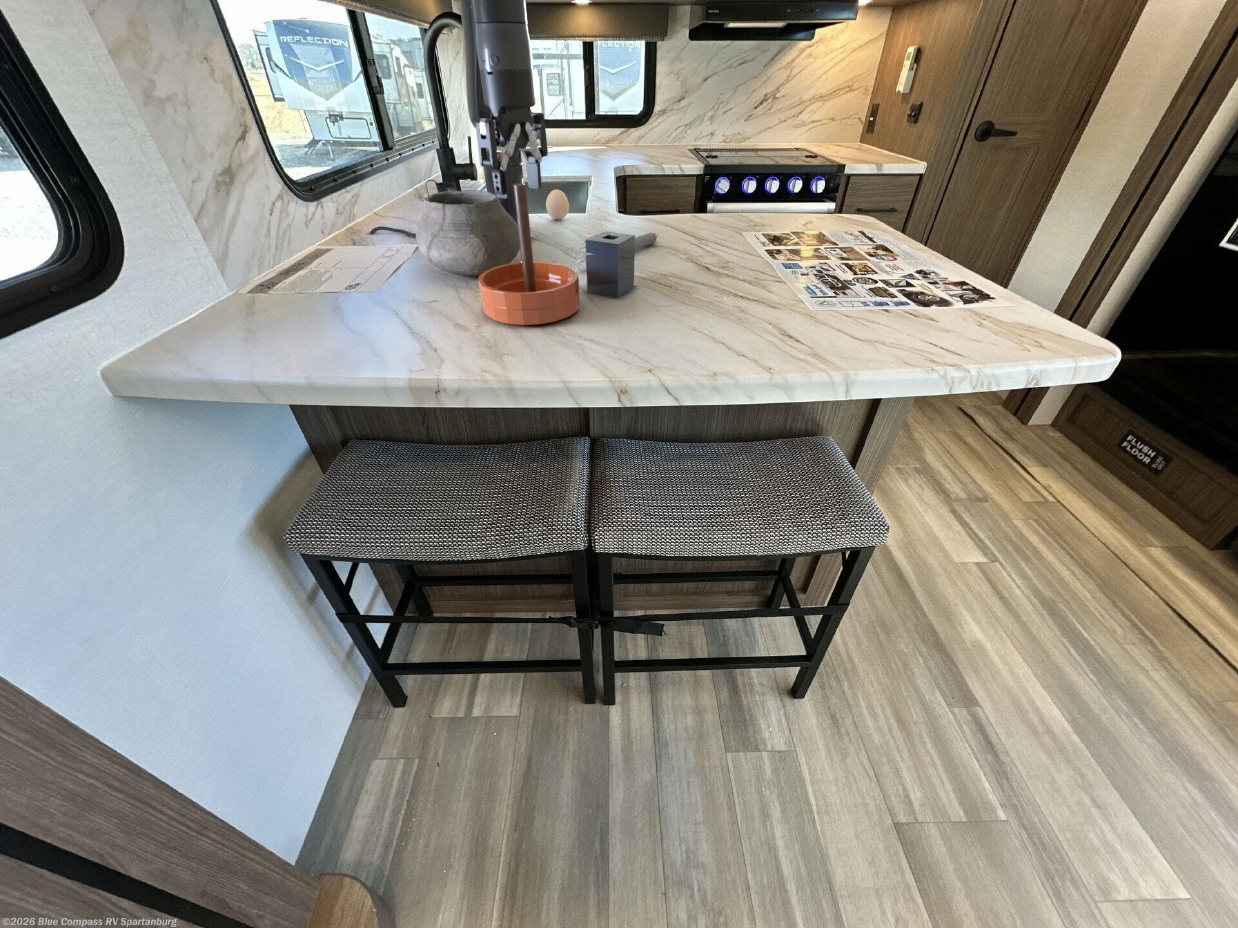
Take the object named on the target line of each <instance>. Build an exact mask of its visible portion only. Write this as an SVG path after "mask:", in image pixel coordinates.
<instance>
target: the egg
mask: <svg viewBox="0 0 1238 928" xmlns="http://www.w3.org/2000/svg"><path fill="white" fill-rule="evenodd" d="M545 207H546V212H547V214H548V216H550V217H551V218H552V219H553V220H556V221H561V220H563V219H564V218H565V217H566V216H567V215H568V213H569V211H570V203H569V200H568V197H567V195H566V194H565V192H564V191H562V190H560V189H553V190H551V191H550V192H549V194H548V195H547V197H546V200H545Z"/></svg>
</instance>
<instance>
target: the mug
mask: <svg viewBox="0 0 1238 928" xmlns="http://www.w3.org/2000/svg"><path fill="white" fill-rule="evenodd" d="M428 182H434V184H435V188H436V190H437V193H439V192H444V191H458V188H457V186H456V183H455V182H453V181H441V182H437V181H436V180H435V179H427V180H426V181H425V189H426V192H427V197H428V196H430V193H429V190H428V189H429V188H428V186H427V183H428Z"/></svg>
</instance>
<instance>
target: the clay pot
mask: <svg viewBox="0 0 1238 928" xmlns="http://www.w3.org/2000/svg"><path fill="white" fill-rule="evenodd" d="M417 223H418V224H417V227H416V231H415V234H416V237H415V243H416V245H417V249H418V251H419V252H420V254H421V255H422V256H423V258H424V259H426V260H427V261H428V262H429V263H430V264H432V265H433V266H434V267H436V268H438V269H440V270H442V271H444V272H446V273H450V274H453V275H458V276H468V277H471V276H472V277H473V276H474V277H476V276H478V277H479V276H480V275H481V274H483V273H484V272H485V271H487V270H489V269H492V268H494V267H497V266H501V265H505V264H510V263H513V261H514V260H515V259H516V258H517V256H518V254H519V252H520V251H521V249H520V240H519V232H518V225H517V223H516V222H515V221H514V219H513V218H512V217H511V216H510V215H509V214H508V213H507V212H506V211H505V209H504V208H503V207H502V205H501V203H500V201H499V199H498V197H497V196H496V195H494V194H492V193H489V192H487V190H486V191H485V190H479V189H464V190H457V191H444V192H439V193H438V192H435V193H432V194H429V196H428V195H427V196H426V197H425V199H424V203H423V210H422V213H421V217H420V219H419V220H418V222H417Z"/></svg>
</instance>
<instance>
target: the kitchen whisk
mask: <svg viewBox="0 0 1238 928" xmlns="http://www.w3.org/2000/svg"><path fill="white" fill-rule="evenodd" d="M658 237H659V235H658V233H657V231H655V232H648V233H647V232H646V233H644V234H641V235H637V236H635V250H638V249H641V248H645V247H647V246H650V245H653V244H655V242H657V239H658ZM583 244H586V243H585V241H584V242H582V243H581V244H580V245H579V247H578V248H577V249H576V250H574V252H573V257H575V259H576V261H573V264H575V263H578V265H577V267H578V270H579V271H581V272H587V270H586V268H584V267H583V265H586V262H585V263H584V262H583V261H586V257H585V258H582V257H583V255H584V254H585V253H586V246H584V247H582V245H583ZM582 249H584V250H583V252H582V253H581V255H579V253H580V250H582ZM576 252H577V256H578V257H576V255H575V253H576ZM582 264H583V265H582ZM580 266H581V268H582V269H581V268H580Z"/></svg>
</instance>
